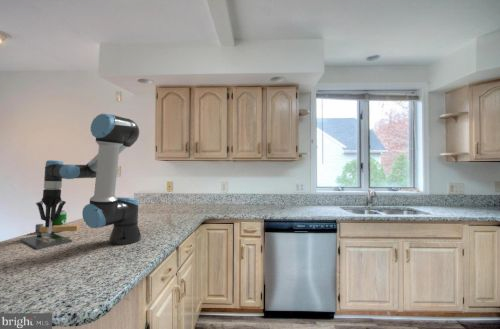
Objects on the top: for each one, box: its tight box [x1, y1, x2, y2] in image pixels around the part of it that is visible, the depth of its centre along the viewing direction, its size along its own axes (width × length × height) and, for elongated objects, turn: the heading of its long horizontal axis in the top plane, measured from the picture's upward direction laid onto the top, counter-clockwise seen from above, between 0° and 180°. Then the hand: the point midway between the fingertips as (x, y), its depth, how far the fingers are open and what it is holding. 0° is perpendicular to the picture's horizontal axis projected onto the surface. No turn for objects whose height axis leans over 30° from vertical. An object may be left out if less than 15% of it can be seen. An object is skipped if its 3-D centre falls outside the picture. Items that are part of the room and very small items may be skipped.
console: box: [19, 232, 73, 250], centre depth 127 cm, size 24×14×3 cm, turn 58°
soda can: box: [54, 209, 68, 233], centre depth 147 cm, size 8×8×12 cm
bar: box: [34, 223, 80, 234], centre depth 134 cm, size 20×3×4 cm, turn 103°
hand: (48, 232), depth 130 cm, fingers closed
